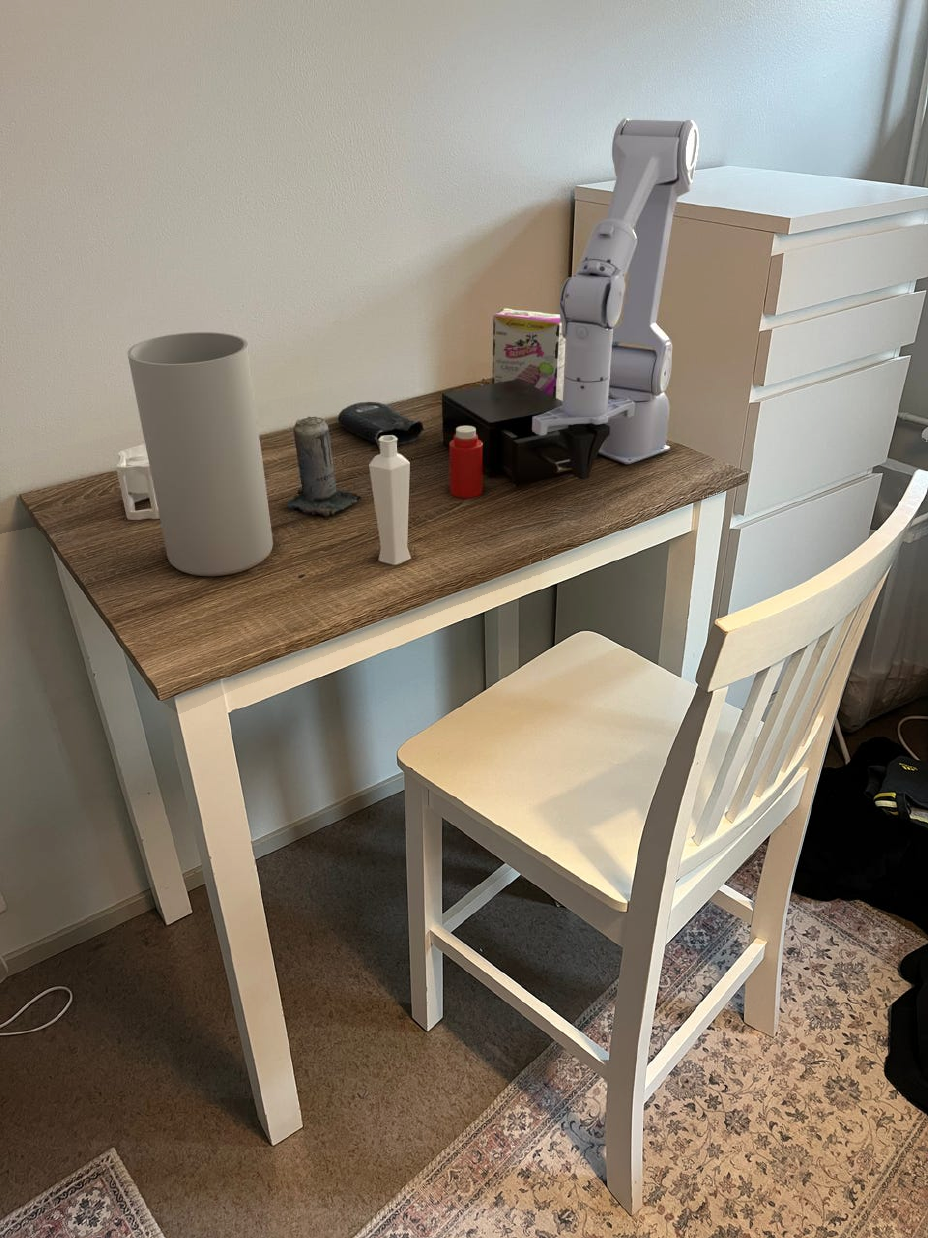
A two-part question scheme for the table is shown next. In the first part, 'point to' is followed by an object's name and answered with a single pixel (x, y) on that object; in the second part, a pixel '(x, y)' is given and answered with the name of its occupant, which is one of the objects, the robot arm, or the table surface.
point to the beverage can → (317, 470)
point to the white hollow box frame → (136, 482)
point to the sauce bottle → (465, 463)
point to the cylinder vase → (203, 450)
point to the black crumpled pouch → (379, 422)
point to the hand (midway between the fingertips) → (580, 476)
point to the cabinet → (492, 412)
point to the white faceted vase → (391, 500)
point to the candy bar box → (529, 349)
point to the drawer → (530, 453)
